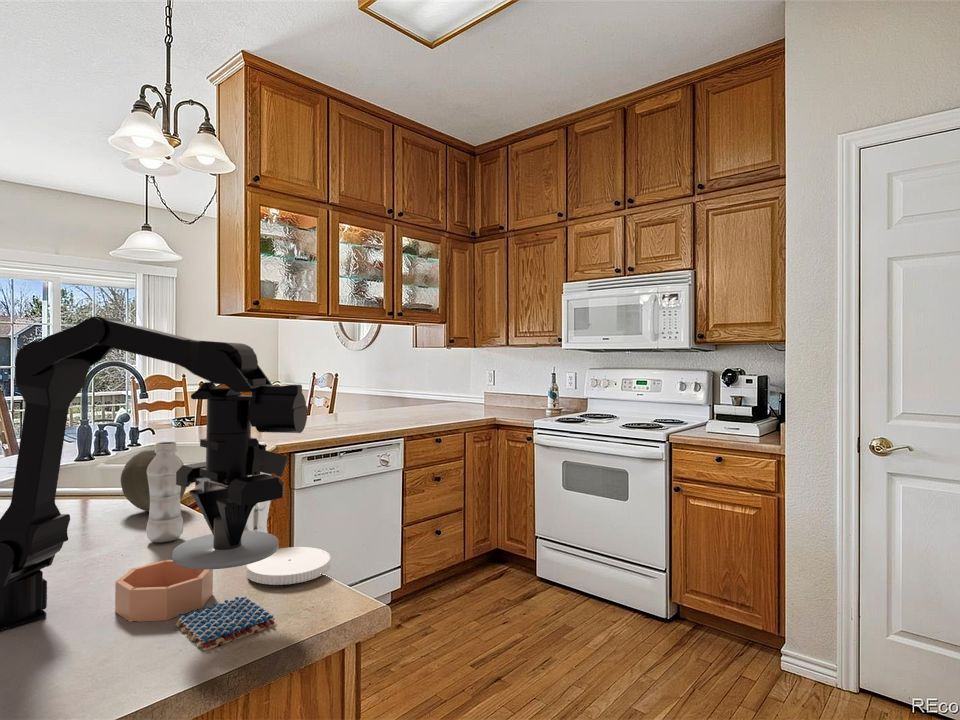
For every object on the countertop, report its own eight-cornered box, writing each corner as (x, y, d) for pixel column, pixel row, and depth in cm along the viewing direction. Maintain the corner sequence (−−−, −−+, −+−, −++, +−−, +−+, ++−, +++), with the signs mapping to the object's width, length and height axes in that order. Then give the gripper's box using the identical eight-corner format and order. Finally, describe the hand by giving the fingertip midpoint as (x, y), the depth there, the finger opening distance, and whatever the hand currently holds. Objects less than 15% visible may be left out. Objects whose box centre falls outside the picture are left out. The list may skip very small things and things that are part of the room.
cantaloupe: (192, 503, 144) (193, 444, 144) (179, 518, 130) (180, 453, 130) (130, 506, 140) (131, 446, 140) (109, 522, 126) (110, 455, 126)
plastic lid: (230, 575, 98) (231, 561, 98) (302, 554, 108) (302, 541, 108) (273, 598, 89) (273, 582, 89) (346, 573, 99) (346, 559, 99)
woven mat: (202, 657, 72) (202, 641, 72) (172, 628, 79) (173, 614, 79) (279, 629, 79) (279, 615, 79) (246, 605, 86) (246, 592, 86)
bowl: (140, 629, 77) (140, 596, 77) (105, 605, 85) (106, 575, 85) (224, 600, 87) (224, 571, 87) (186, 580, 94) (187, 554, 94)
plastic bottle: (188, 540, 115) (189, 443, 115) (151, 548, 110) (153, 446, 110) (177, 533, 119) (178, 439, 119) (141, 541, 114) (142, 442, 114)
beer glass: (259, 534, 120) (260, 463, 120) (277, 541, 115) (278, 468, 115) (227, 542, 114) (228, 468, 114) (245, 550, 110) (246, 473, 110)
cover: (203, 577, 70) (204, 539, 70) (154, 553, 78) (154, 518, 78) (297, 549, 80) (298, 515, 80) (246, 530, 89) (246, 500, 89)
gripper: (317, 432, 80) (316, 542, 80) (246, 421, 91) (244, 517, 91) (244, 440, 71) (242, 564, 71) (175, 427, 82) (173, 534, 82)
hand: (227, 542), depth 79 cm, fingers closed on cover, 4 cm apart
